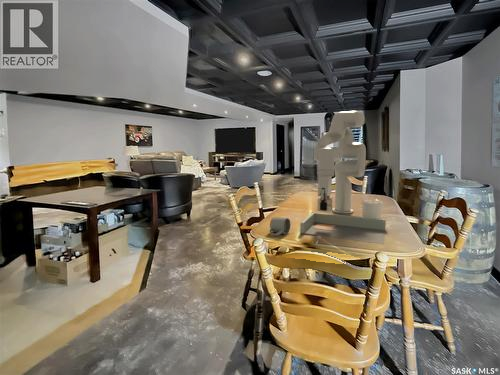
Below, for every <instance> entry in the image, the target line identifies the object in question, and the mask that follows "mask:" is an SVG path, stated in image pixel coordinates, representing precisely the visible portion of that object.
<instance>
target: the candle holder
mask: <svg viewBox="0 0 500 375" xmlns="http://www.w3.org/2000/svg"><path fill="white" fill-rule="evenodd" d="M383 204H384V203H383V201H382V200H378V199H363V200H362V207H361V208H362V209H361V210H362V217H366V218H376V219H382V218H381V216H382V211H383V210H382V209H383Z"/></svg>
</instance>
